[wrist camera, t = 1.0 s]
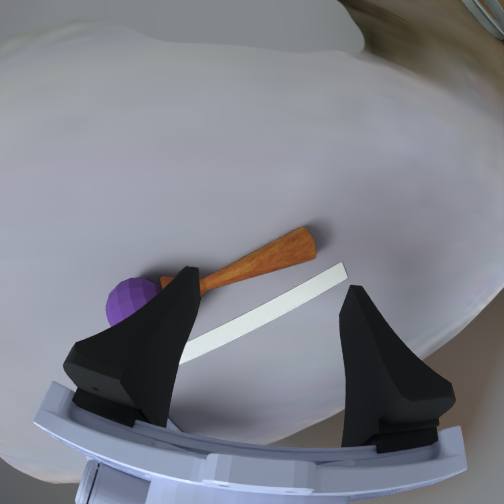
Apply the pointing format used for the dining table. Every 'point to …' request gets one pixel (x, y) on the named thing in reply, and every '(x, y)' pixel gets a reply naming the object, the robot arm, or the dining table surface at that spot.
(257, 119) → the dining table surface
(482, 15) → the cake pan
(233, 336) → the strip
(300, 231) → the kendama
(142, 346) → the robot arm
